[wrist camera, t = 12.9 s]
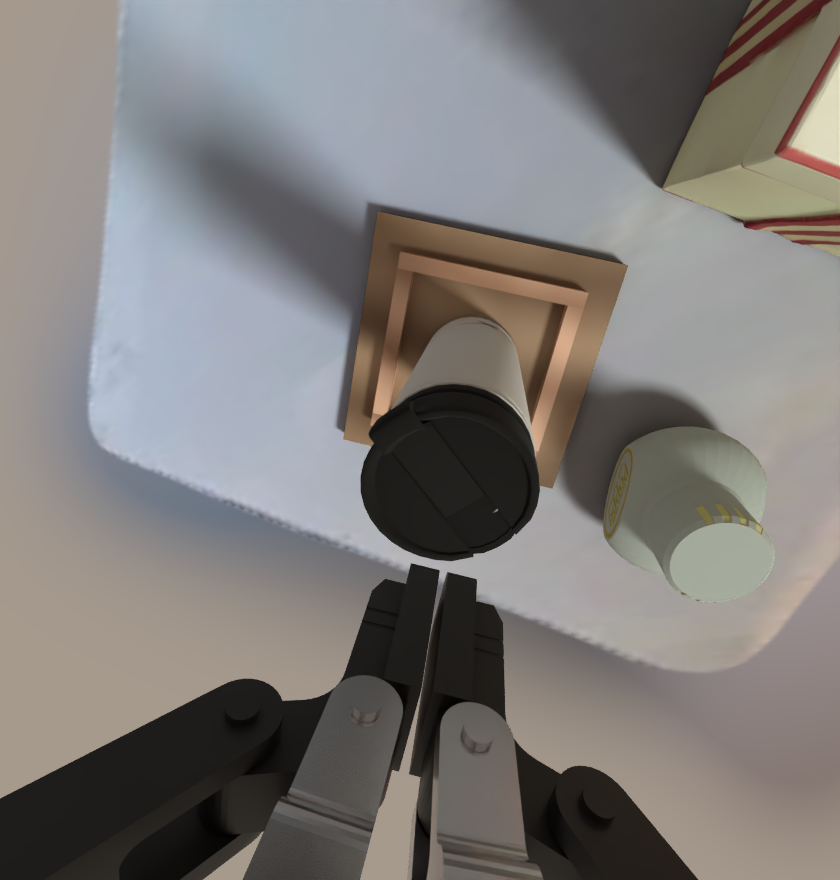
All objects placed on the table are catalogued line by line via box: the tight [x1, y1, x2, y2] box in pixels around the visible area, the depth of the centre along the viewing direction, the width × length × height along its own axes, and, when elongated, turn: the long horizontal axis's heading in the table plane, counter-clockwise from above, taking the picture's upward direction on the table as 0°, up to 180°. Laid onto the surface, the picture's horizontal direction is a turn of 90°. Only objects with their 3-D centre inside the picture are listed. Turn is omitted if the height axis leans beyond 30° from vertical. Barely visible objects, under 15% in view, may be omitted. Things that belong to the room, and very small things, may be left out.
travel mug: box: [361, 315, 540, 561], centre depth 26 cm, size 6×7×20 cm
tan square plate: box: [343, 212, 628, 488], centre depth 36 cm, size 16×16×2 cm
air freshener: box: [603, 427, 775, 603], centre depth 34 cm, size 11×8×10 cm
